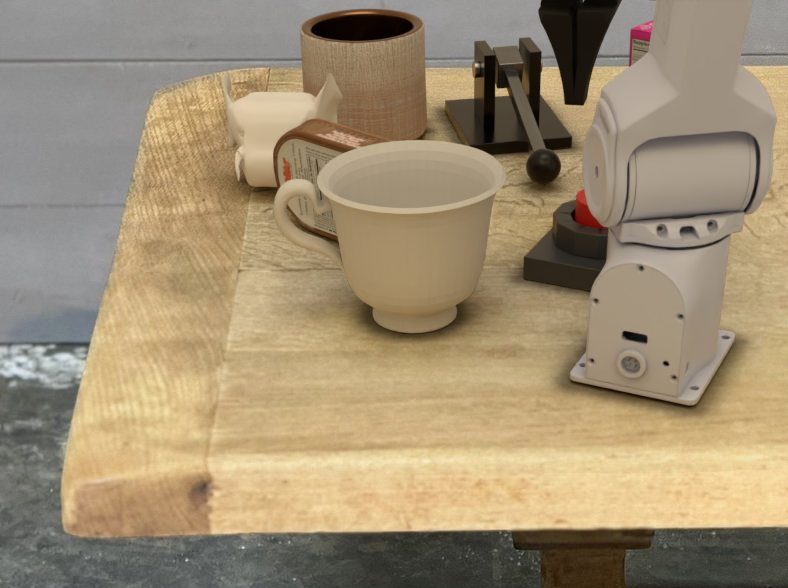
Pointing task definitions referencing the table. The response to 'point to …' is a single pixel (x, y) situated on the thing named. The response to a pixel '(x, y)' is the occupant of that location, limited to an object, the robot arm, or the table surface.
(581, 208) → the button
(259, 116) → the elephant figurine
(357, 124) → the planter
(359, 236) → the teacup
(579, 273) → the button box
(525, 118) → the lever
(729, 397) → the table surface
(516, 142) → the bracket
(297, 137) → the tin
